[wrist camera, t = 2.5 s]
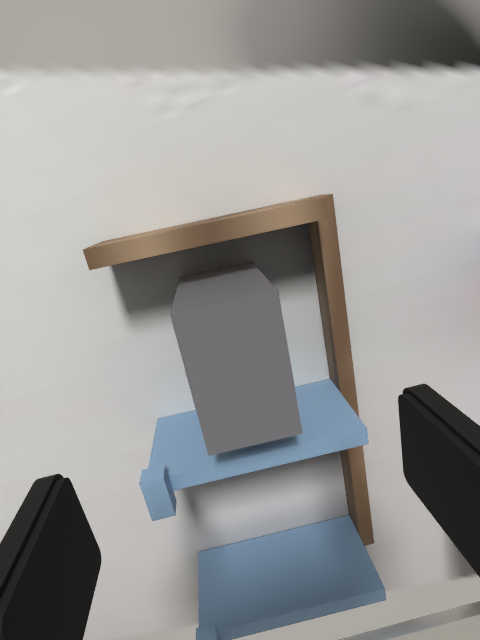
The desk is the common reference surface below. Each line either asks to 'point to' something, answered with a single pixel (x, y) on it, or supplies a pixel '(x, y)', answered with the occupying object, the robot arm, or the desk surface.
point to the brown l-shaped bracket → (329, 290)
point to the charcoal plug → (236, 357)
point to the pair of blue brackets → (275, 549)
